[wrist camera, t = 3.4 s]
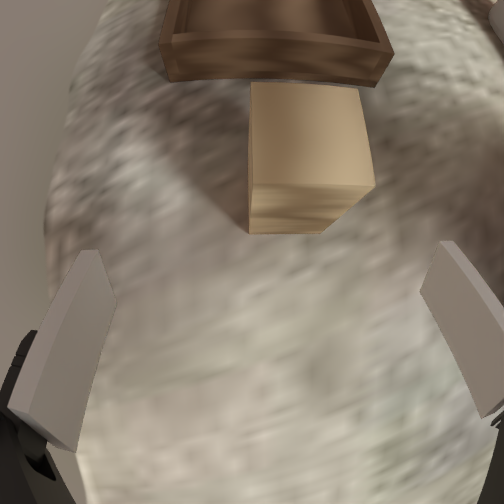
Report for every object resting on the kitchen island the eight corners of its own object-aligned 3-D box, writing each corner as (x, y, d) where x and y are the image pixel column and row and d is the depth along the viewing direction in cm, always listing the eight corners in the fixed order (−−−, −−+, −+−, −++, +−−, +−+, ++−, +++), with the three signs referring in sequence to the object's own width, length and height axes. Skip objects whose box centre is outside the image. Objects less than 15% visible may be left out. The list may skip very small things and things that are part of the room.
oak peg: (315, 167, 23) (357, 88, 13) (320, 233, 22) (375, 186, 12) (247, 167, 22) (250, 81, 13) (248, 234, 22) (253, 183, 12)
